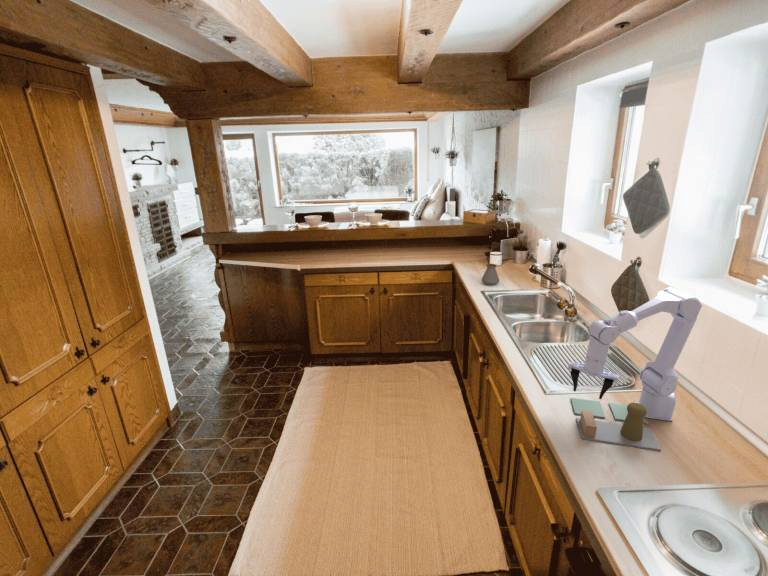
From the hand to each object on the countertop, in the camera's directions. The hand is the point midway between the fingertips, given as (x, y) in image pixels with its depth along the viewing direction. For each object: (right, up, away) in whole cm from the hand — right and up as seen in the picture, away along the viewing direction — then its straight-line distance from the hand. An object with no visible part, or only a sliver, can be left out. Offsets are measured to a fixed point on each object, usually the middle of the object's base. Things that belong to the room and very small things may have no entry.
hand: (587, 393), depth 133 cm
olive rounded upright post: (+11, -12, -5) cm, 17 cm away
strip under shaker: (+7, -12, -4) cm, 14 cm away
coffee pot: (+3, +39, +137) cm, 143 cm away
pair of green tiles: (+10, -8, +7) cm, 14 cm away
